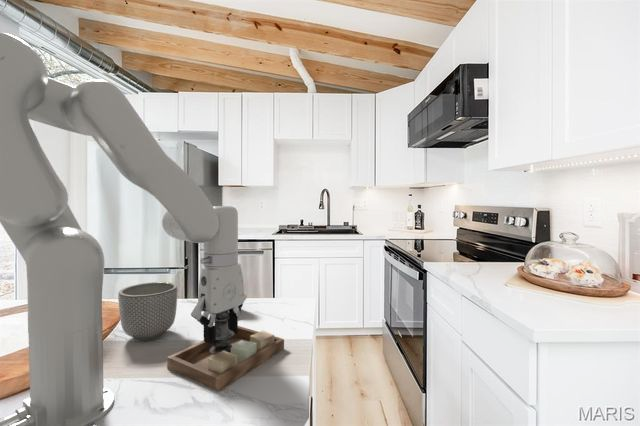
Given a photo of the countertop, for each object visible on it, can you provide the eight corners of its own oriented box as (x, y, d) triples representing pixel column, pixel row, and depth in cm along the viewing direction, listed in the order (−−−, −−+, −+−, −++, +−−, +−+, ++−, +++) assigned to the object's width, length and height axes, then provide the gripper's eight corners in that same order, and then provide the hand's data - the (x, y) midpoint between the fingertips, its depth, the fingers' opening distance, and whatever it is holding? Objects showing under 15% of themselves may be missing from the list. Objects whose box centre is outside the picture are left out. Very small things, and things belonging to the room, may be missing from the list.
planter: (124, 330, 87) (123, 284, 86) (178, 322, 92) (178, 279, 92) (113, 352, 74) (112, 298, 74) (177, 342, 80) (176, 292, 79)
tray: (219, 394, 58) (219, 379, 58) (167, 370, 66) (167, 357, 66) (284, 351, 75) (284, 339, 75) (236, 336, 84) (236, 325, 83)
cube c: (261, 357, 71) (261, 340, 71) (249, 352, 73) (249, 335, 73) (274, 351, 74) (274, 334, 74) (262, 346, 77) (262, 330, 76)
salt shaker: (226, 356, 68) (226, 303, 68) (202, 354, 70) (202, 301, 69) (238, 345, 74) (238, 295, 74) (216, 342, 75) (216, 293, 75)
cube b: (246, 369, 66) (246, 351, 66) (230, 365, 67) (230, 347, 67) (256, 360, 70) (256, 343, 70) (241, 357, 71) (241, 340, 71)
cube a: (221, 384, 61) (221, 363, 61) (208, 378, 63) (208, 358, 63) (237, 374, 64) (237, 355, 64) (223, 368, 66) (223, 350, 66)
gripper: (200, 268, 62) (200, 357, 63) (258, 255, 77) (258, 327, 77) (176, 264, 66) (177, 348, 66) (236, 253, 81) (236, 321, 81)
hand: (221, 336), depth 72 cm, fingers closed on salt shaker, 5 cm apart
